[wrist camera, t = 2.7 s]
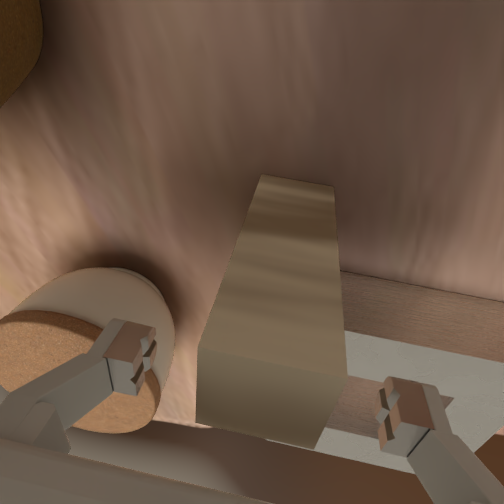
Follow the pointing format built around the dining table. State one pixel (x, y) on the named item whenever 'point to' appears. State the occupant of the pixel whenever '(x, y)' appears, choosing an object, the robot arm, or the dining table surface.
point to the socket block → (416, 362)
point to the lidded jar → (88, 337)
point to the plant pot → (18, 43)
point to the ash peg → (277, 320)
